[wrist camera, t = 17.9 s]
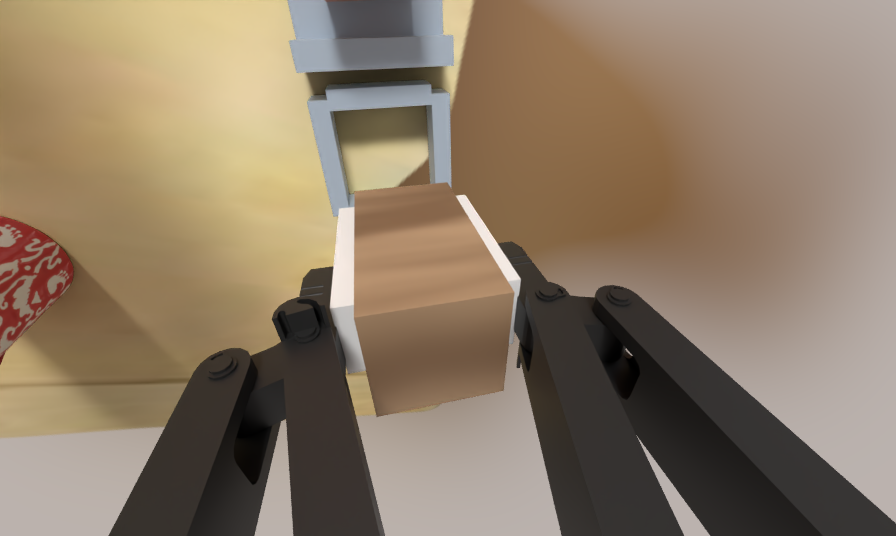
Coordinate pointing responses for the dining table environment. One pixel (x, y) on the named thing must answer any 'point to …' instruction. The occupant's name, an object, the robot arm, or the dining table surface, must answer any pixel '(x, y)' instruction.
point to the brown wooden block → (426, 299)
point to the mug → (28, 278)
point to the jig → (372, 47)
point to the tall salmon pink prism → (341, 0)
